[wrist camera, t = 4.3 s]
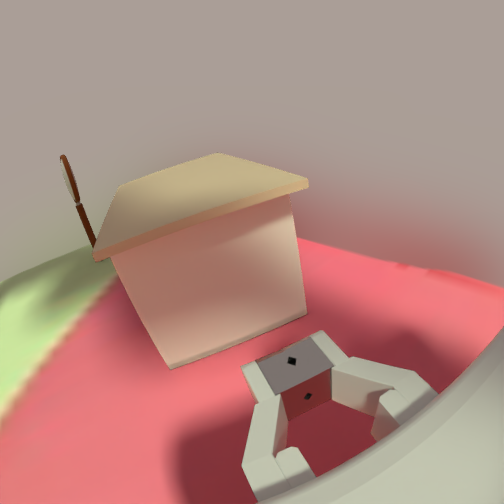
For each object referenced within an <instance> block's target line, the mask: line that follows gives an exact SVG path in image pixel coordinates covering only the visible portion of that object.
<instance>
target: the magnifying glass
mask: <svg viewBox="0 0 504 504" xmlns="http://www.w3.org/2000/svg"><path fill="white" fill-rule="evenodd" d="M60 161H61V167H62V172H63V176H64V179H65V183H66V185H67V188H68V190H69V192H70V194H71V196H72V197H73V199H74V201H75V202H76V205H77V206H76V208H77V211H78V213H79V216H80V218H81V221H82V223H83V226H84V228H85V231H86V233H87V235H88V238H89V240H90V242H91V245H92V247H93V248H94V245H95V243H96V238H95V235H94V233H93V231H92V228H91V226H90V223H89V221H88V218H87V216H86V213H85V210H84V208H83V205H82V203H80V196H79V192H78V187H77V183H76V180H75V177H74V174H73V171H72V169H71V166H70V164H69V162H68V160H67V158H66V156H65V155H61V156H60ZM101 261H103V260H101Z"/></svg>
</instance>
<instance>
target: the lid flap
mask: <svg viewBox="0 0 504 504" xmlns="http://www.w3.org/2000/svg"><path fill="white" fill-rule="evenodd" d="M305 188H309V184H308V178H305V177H302V176H299V175H296V174H292V173H289V172H285V171H282V170H279V169H276V168H272V167H269V166H265V165H262V164H258V163H255V162H251V161H248V160H244V159H240V158H237V157H232V156H229V155H225V154H221V153H215V154H211V155H208V156H205V157H202V158H198V159H195V160H192V161H188V162H186V163H182V164H179V165H176V166H173V167H170V168H167V169H164V170H161V171H158V172H155V173H153V174H150V175H147V176H144V177H141V178H139V179H136V180H133V181H131V182H128V183H125V184H123V185H120V186H119V187H118V189H117V191H116V194H115V196H114V199H113V201H112V203H111V205H110V207H109V210H108V212H107V215H106V217H105V220H104V222H103V224H102V227H101V230H100V232H99V235H98V238H97V240H96V243H95V245H94V248H93V251H92V256H93V258H94V260H95V262H99V261H101V260H103V259H106V258H109V257H111V256H114V255H116V254H119V253H121V252H124V251H126V250H129V249H131V248H134V247H137V246H139V245H142V244H145V243H147V242H150V241H153V240H155V239H158V238H161V237H163V236H166V235H169V234H171V233H174V232H177V231H180V230H182V229H185V228H188V227H191V226H194V225H196V224H199V223H202V222H205V221H208V220H211V219H213V218H216V217H219V216H222V215H225V214H228V213H231V212H234V211H237V210H240V209H243V208H246V207H249V206H252V205H255V204H258V203H261V202H264V201H267V200H270V199H273V198H277V197H280V196H283V195H286V194H289V193H292V192H295V191H298V190H302V189H305Z"/></svg>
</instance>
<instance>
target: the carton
mask: <svg viewBox="0 0 504 504" xmlns="http://www.w3.org/2000/svg"><path fill="white" fill-rule="evenodd" d="M110 259H111V261H112V263H113V265H114V267H115V269H116V272H117V274H118V276H119V278H120V280H121V282H122V284H123V286H124V288H125V290H126V292H127V294H128V296H129V298H130V300H131V302H132V304H133V306H134V308H135V310H136V312H137V314H138V315H139V317H140V319H141V321H142V323H143V325H144V326H145V328H146V330H147V332H148V334H149V335H150V337H151V339H152V341H153V342H154V344H155V346H156V347H157V349H158V351H159V353H160V354H161V356H162V358H163V359H164V361H165V362H166V364H167V366H168V367H169V369H170V370H172V369H174V368H177V367H180V366H183V365H186V364H188V363H191V362H194V361H196V360H199V359H202V358H204V357H207V356H210V355H212V354H215V353H217V352H220V351H223V350H225V349H228V348H230V347H233V346H235V345H237V344H240V343H242V342H245V341H247V340H250V339H252V338H254V337H257V336H259V335H261V334H264V333H266V332H268V331H271V330H273V329H275V328H277V327H280V326H282V325H284V324H286V323H289V322H291V321H293V320H295V319H297V318H299V317H302V316H304V315H306V314H307V307H306V300H305V292H304V285H303V278H302V271H301V264H300V258H299V251H298V245H297V238H296V232H295V226H294V220H293V214H292V208H291V202H290V197H289V194H286V195H283V196H280V197H277V198H273V199H270V200H267V201H264V202H261V203H258V204H255V205H252V206H249V207H246V208H243V209H240V210H237V211H234V212H231V213H228V214H225V215H222V216H219V217H216V218H213V219H211V220H208V221H205V222H202V223H199V224H196V225H194V226H191V227H188V228H185V229H182V230H180V231H177V232H174V233H171V234H169V235H166V236H163V237H161V238H158V239H155V240H153V241H150V242H147V243H145V244H142V245H139V246H137V247H134V248H131V249H129V250H126V251H124V252H121V253H119V254H116V255H114V256H111V257H110Z"/></svg>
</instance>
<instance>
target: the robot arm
mask: <svg viewBox="0 0 504 504" xmlns="http://www.w3.org/2000/svg"><path fill="white" fill-rule="evenodd" d="M241 370H242V373H243V375H244V378H245V380H246V383H247V385H248V388H249V390H250V392H251V395H252V397H253V399H254V401H255V403H256V405H255V406H254V411H253V415H252V420H251V425H250V429H249V434H248V439H247V443H246V448H245V452H244V457H243V461H242V465H241V466H242V468H243V471H244V473H245V475H246V477H247V480H248V482H249V484H250V486H251V488H252V490H253V493H254V495H255V497H256V499H257V501H258V503H255V504H504V326H503V328H502V329H501V330H500V331H499V333H498V334H497V335H496V336H495V337H494V339H493V340H492V341H491V342H490V343H489V344H488V346H487V347H486V348H485V349H484V350H483V351H482V352H481V353H480V355H479V356H478V357H477V358H476V359H475V360H474V361H473V362H472V363H471V364H470V365H469V366H468V367H467V368H466V369H465V370H464V371H463V372H462V373H461V374H460V375H459V376H458V377H457V378H456V379H455V380H454V381H453V382H452V383H451V384H450V385H449V386H448V387H447V388H446V389H444V390H443V391H442V392H441V393H440V394H438V393H437V392H436V391H435V390H434V389H433V388H432V387H431V386H430V385H429V384H428V383H426V382H425V381H424V380H423V379H422V378H421V377H420V376H419V375H418V374H417V373H416V372H415V371H412V370H407V369H403V368H398V367H394V366H390V365H386V364H381V363H377V362H373V361H369V360H365V359H362V358H358V357H354V356H352V357H350V358H349V357H348V356H347V355H346V354H345V353H344V352H343V351H342V350H341V349H340V348H339V347H338V346H337V345H336V344H335V343H334V342H333V340H332V339H331V338H330V337H329V336H328V335H327V334H326V333H325V332H324V331H322V330H320V331H318V332H316V333H314V334H312V335H310V336H308V337H305V338H303V339H301V340H299V341H297V342H295V343H293V344H291V345H289V346H287V347H285V348H282V349H281V350H279V351H277V352H274V353H272V354H269V355H267V356H264V357H262V358H259V359H257V360H255V361H252V362H250V363H247V364H245V365H242V366H241ZM330 399H332V400H333V401H336V402H338V403H340V404H343V405H345V406H348V407H350V408H352V409H355V410H357V411H360V412H362V413H365V414H367V415H370V416H373V417H375V418H374V422H373V426H372V430H371V433H370V434H371V435H372V436H373V437H374V439H375V440H376V441H377V443H375V444H374V445H372V446H370V447H369V448H367V449H366V450H364V451H363V452H361V453H359V454H358V455H356V456H354V457H353V458H351V459H349V460H348V461H346V462H344V463H342V464H341V465H339V466H337V467H335V468H333V469H332V470H330V471H328V472H326V473H324V474H322V475H320V476H318V477H316V476H315V474H314V473H313V471H312V470H311V468H310V466H309V465H308V463H307V462H306V460H305V459H304V457H303V455H302V454H301V452H300V451H299V449H298V448H297V447H289V448H287V449H286V443H287V432H288V421H289V420H291V419H293V418H295V417H297V416H299V415H301V414H303V413H305V412H306V411H308V410H310V409H312V408H314V407H316V406H318V405H320V404H322V403H324V402H326V401H328V400H330Z"/></svg>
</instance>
